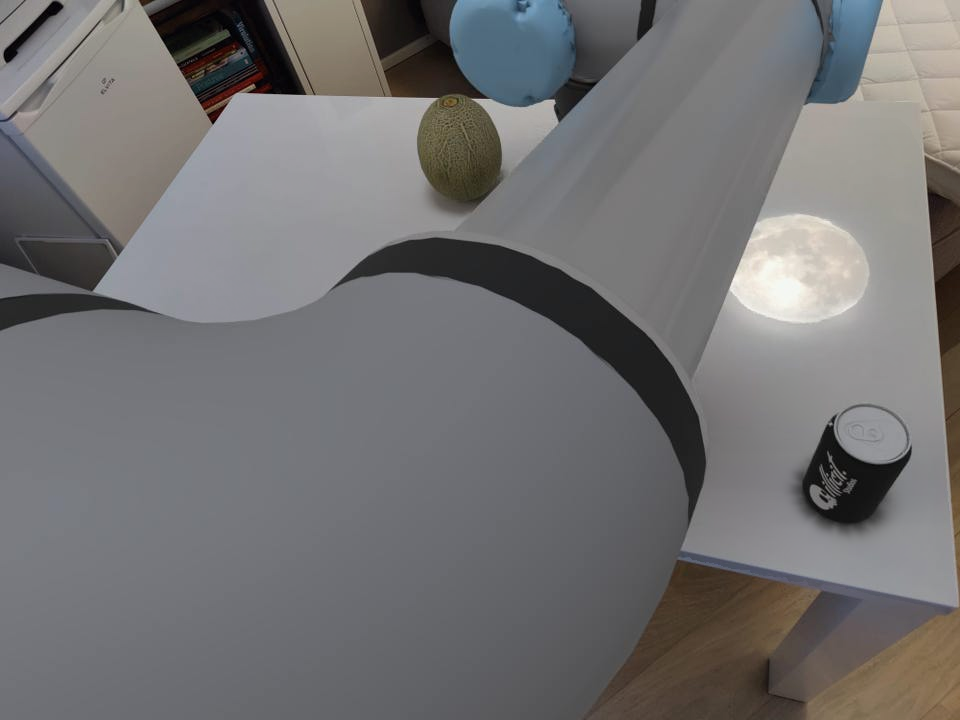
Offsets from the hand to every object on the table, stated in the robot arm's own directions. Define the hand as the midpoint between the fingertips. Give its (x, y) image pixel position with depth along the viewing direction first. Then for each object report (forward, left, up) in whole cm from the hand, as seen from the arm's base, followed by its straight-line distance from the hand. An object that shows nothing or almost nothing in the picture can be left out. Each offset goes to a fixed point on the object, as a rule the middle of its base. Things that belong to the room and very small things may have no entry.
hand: (607, 264), depth 73 cm
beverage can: (+7, -28, -12) cm, 31 cm away
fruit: (-3, +33, -12) cm, 35 cm away
